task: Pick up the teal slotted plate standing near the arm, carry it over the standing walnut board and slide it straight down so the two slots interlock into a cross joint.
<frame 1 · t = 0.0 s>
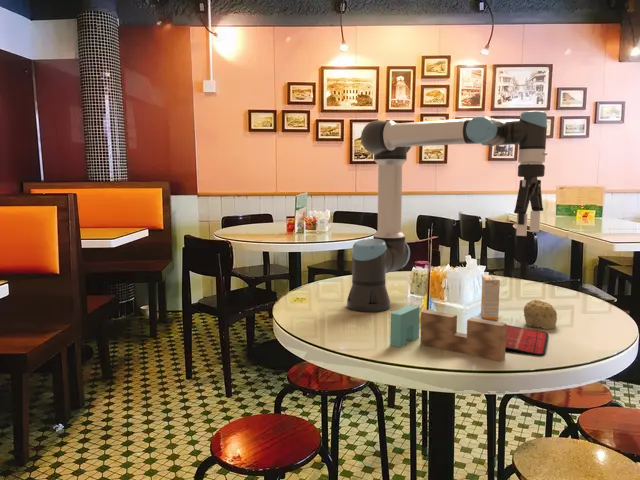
hand: (528, 233, 158), 28 cm above the table, fingers open, 13 cm apart
teal plate: (404, 341, 143), on the table
supplement box: (489, 317, 168), on the table
walnut board: (461, 350, 135), on the table
binder: (515, 343, 143), on the table
decorative item: (539, 325, 158), on the table
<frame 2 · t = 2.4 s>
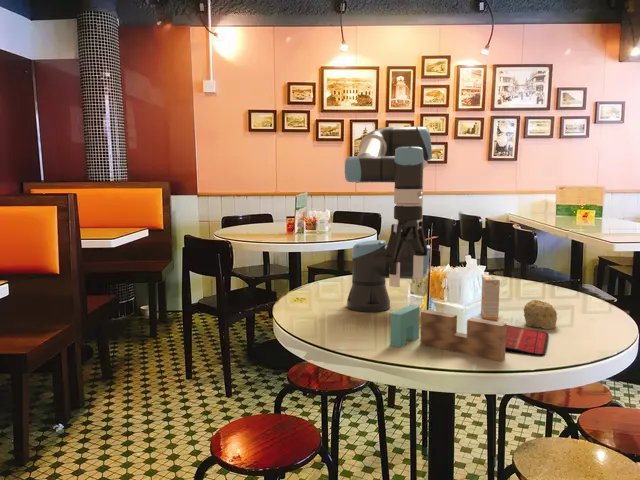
hand: (406, 282, 141), 17 cm above the table, fingers open, 13 cm apart
nothing on the table moved.
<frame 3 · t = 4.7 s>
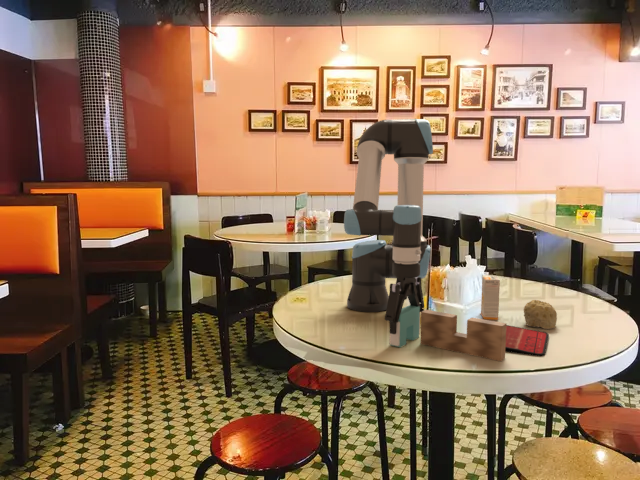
hand: (404, 339, 143), 1 cm above the table, fingers closed on teal plate, 11 cm apart
teal plate: (404, 341, 143), on the table, touching gripper
everything else where it was.
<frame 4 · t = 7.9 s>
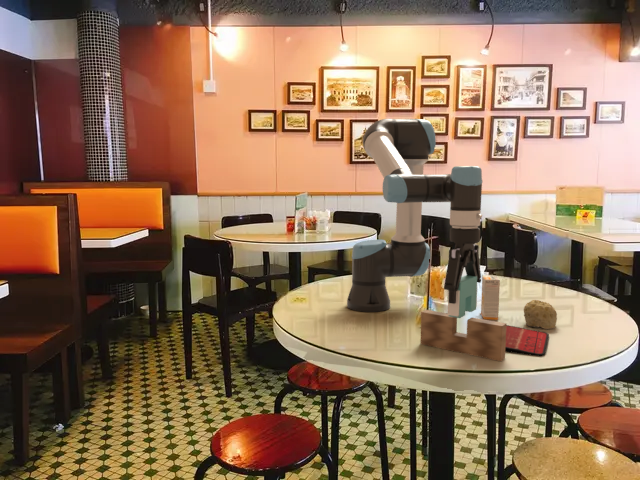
hand: (462, 310, 134), 11 cm above the table, fingers closed on teal plate, 11 cm apart
teal plate: (462, 312, 134), point 10 cm above the table, touching gripper
everything else where it was.
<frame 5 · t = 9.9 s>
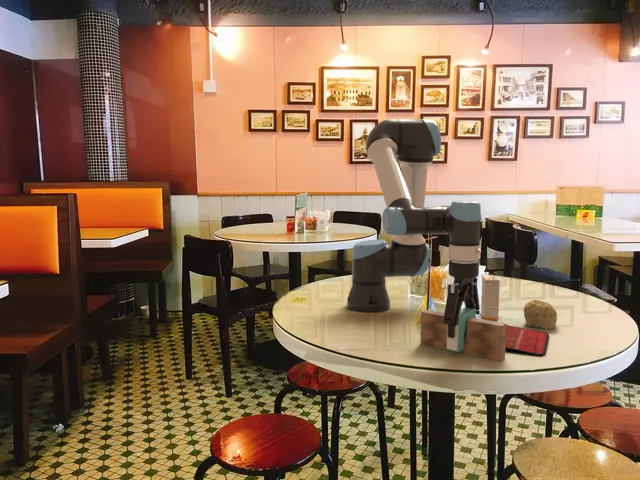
hand: (461, 343, 135), 2 cm above the table, fingers closed on teal plate, 11 cm apart
teal plate: (461, 345, 135), point 1 cm above the table, touching gripper
everything else where it was.
when the fingers open (2 cm above the table, at t = 11.3 s): teal plate drops 1 cm, on the table.
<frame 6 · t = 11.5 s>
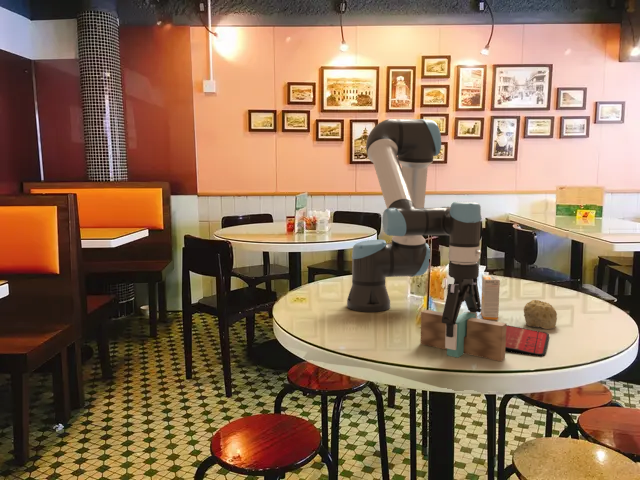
hand: (461, 342, 135), 2 cm above the table, fingers open, 13 cm apart
teal plate: (460, 350, 135), on the table
everything else where it was.
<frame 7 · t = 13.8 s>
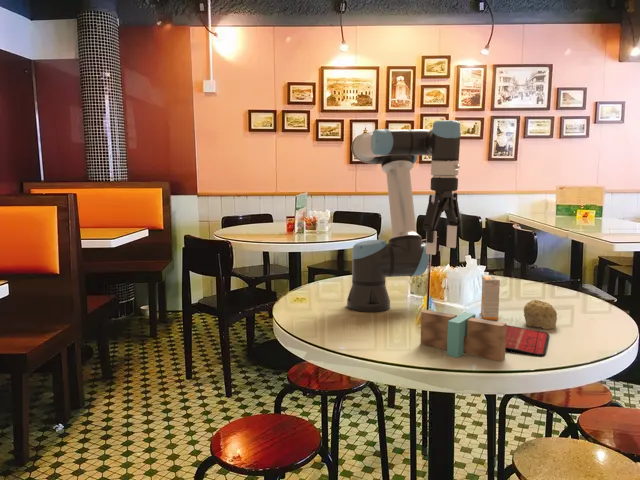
hand: (441, 250, 148), 24 cm above the table, fingers open, 13 cm apart
nothing on the table moved.
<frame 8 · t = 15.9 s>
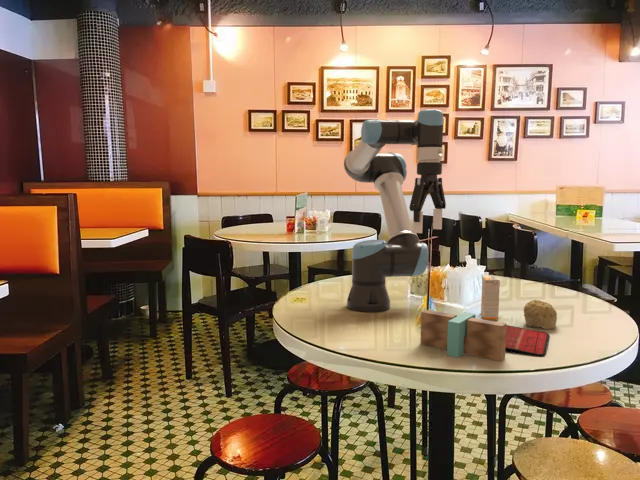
hand: (427, 231, 160), 29 cm above the table, fingers open, 13 cm apart
nothing on the table moved.
at the end: teal plate 0.0 cm off-centre on the walnut board, point 0.0 cm above the walnut board's base; teal plate tilted 0°; the gripper is holding nothing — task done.
